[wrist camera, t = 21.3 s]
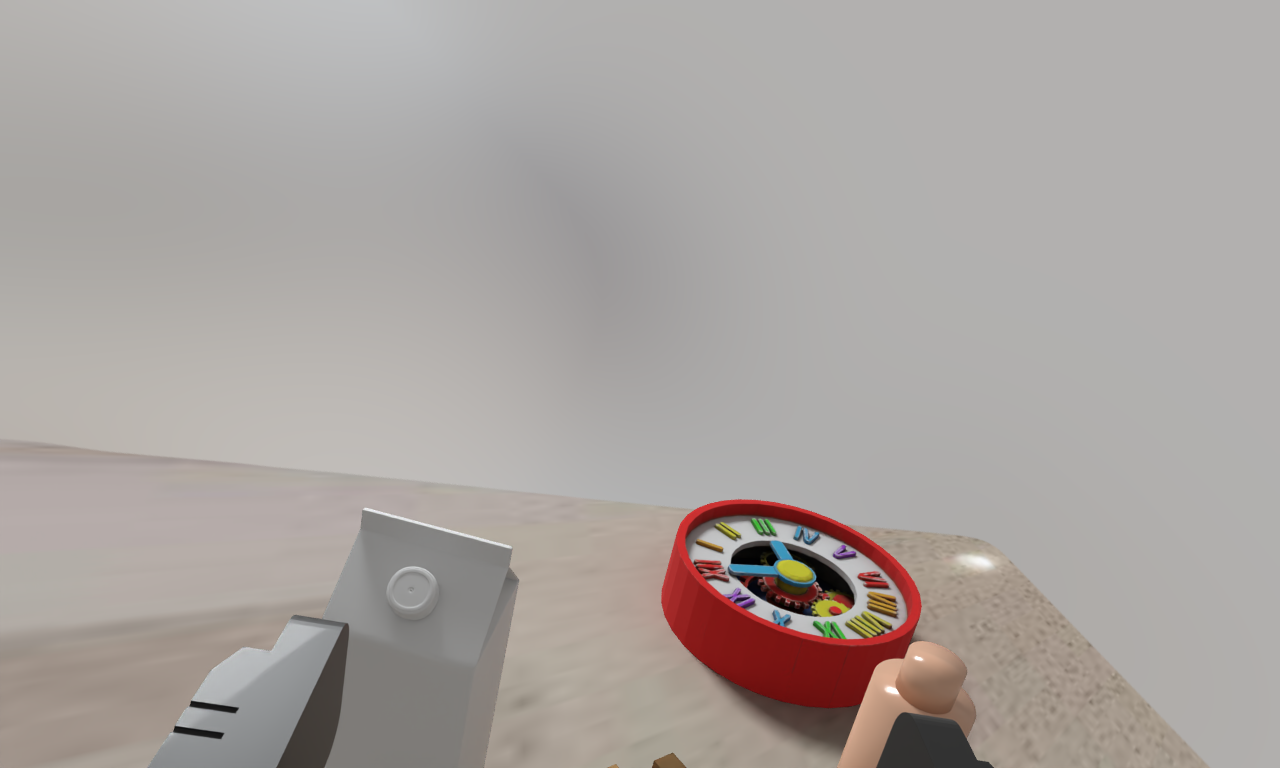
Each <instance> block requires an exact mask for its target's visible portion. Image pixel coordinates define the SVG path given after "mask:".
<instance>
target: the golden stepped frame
mask: <svg viewBox="0 0 1280 768" xmlns="http://www.w3.org/2000/svg"><path fill="white" fill-rule="evenodd" d="M608 768H619V767H618V766H617V765H616V764H615V765H613V766H610V767H608ZM652 768H686V767H685V766H684V765H683V763H682V762H681V761H680V760H679V759H678V758H677V757H676V756H675V754H674V753H671V754H668V755H666V756H664V757H662V758H659V759H657V760H655V761H654V763H653V766H652Z"/></svg>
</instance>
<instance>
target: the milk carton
mask: <svg viewBox="0 0 1280 768" xmlns="http://www.w3.org/2000/svg"><path fill="white" fill-rule="evenodd" d="M512 549H513V548H512V546H508V545H505V544H501V543H497V542H493V541H490V540H486V539H482V538H478V537H475V536H471V535H467V534H463V533H459V532H456V531H452V530H448V529H444V528H441V527H437V526H433V525H429V524H426V523H422V522H418V521H414V520H410V519H407V518H403V517H399V516H395V515H392V514H388V513H384V512H380V511H376V510H373V509H369V508H364V509H363V511H362V520H361V529H360V531H359V534H358V536H357V538H356V541H355V543H354V545H353V548H352V550H351V552H350V555H349V557H348V559H347V562H346V564H345V566H344V569H343V571H342V573H341V576H340V578H339V580H338V583H337V585H336V587H335V590H334V592H333V594H332V597H331V599H330V601H329V604H328V606H327V608H326V611H325V613H324V615H323V618H322V619H324V620H331V621H337V622H343V623H348V625H349V640H348V649H347V658H346V668H345V677H344V686H343V695H342V704H341V712H340V718H339V723H338V727H337V731H336V735H335V739H334V743H333V746H332V749H331V752H330V755H329V757H328V760H327V763H326V765H325V767H324V768H484V764H485V758H486V753H487V748H488V742H489V737H490V732H491V727H492V721H493V716H494V711H495V705H496V700H497V695H498V689H499V684H500V679H501V673H502V668H503V663H504V658H505V652H506V647H507V642H508V636H509V631H510V626H511V620H512V615H513V610H514V604H515V599H516V594H517V589H518V583H519V579H518V578H517V576H516V575H515V574H514V572H513V571H512V570H511V569H510V567H509V565H510V560H511V554H512Z"/></svg>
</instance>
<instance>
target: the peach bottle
mask: <svg viewBox="0 0 1280 768" xmlns="http://www.w3.org/2000/svg"><path fill="white" fill-rule="evenodd" d="M966 675H967V668H966V666H965V664H964V663H963V661H962V660H961V659H960V658H959V657H958V656H957V655H956V654H954V653H953V652H952V651H950V650H948V649H947V648H945V647H943V646H940V645H938V644H935V643H931V642H926V641H918V642H914V643H912V644H911V645H910V646H909V648H908V651H907V653H906V656H905V658H904V659H889V660H885V661H883V662H881V663H879V664H878V665H877V666H876V668H875V669H874V672H873V675H872V677H871V680H870V682H869V685H868V688H867V690H866V693H865V696H864V698H863V701H862V703H861V706H860V709H859V711H858V714H857V716H856V719H855V722H854V724H853V727H852V729H851V732H850V735H849V737H848V740H847V743H846V745H845V748H844V750H843V753H842V756H841V758H840V761H839V763H838V766H837V768H876V767H877V764H878V762H879V759H880V757H881V754H882V752H883V749H884V747H885V744H886V741H887V739H888V736H889V734H890V731H891V729H892V726H893V724H894V722H895V720H896V718H897V717H898V716H899V715H900V714H901V713H903V712H908V713H914V714H920V715H927V716H933V717H940V718H946V719H952V720H954V721H956V722H957V723H958V724H959V726H960V727H961V729H962V731H963V733H964V735H965V737H966V739H967V737H968V735H969V733H970V730H971V728H972V726H973V724H974V721H975V719H976V710H975V706H974V704H973V702H972V700H971V698H970V697H969V695H968V694H967V693H966V692H965V691H964V689H963V688H962V684H963V682H964V680H965V677H966Z"/></svg>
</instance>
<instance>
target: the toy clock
mask: <svg viewBox="0 0 1280 768" xmlns="http://www.w3.org/2000/svg"><path fill="white" fill-rule="evenodd" d="M661 603H662V607H663V611H664V615H665V618H666V619H667V621H668V623H669V625H670V627H671V629H672V631H673V632H674V634H675V635H676V636H677V637H678V639H679V640H680V641H681V643H682V644H683V645H684V646H685V647H686V648H687V649H688V650H689V651H690V652H691V653H692V654H693V655H694V656H695V657H696V658H697V659H699V660H700V661H701V662H703V663H704V664H705V665H707V666H708V667H709V668H711V669H712V670H713V671H715V672H716V673H718V674H720V675H721V676H723V677H725V678H727V679H728V680H730V681H732V682H733V683H735V684H737V685H739V686H742V687H744V688H746V689H748V690H751V691H753V692H755V693H757V694H760V695H763V696H766V697H769V698H773V699H776V700H779V701H782V702H787V703H792V704H797V705H802V706H807V707H821V708H837V707H850V706H854V705H858V704H861V703H862V701H863V698H864V696H865V693H866V690H867V688H868V685H869V682H870V680H871V677H872V675H873V672H874V669H875V668H876V666H877V665H878V664H879V663H881V662H883V661H885V660H889V659H904V657H905V654H906V652H907V649H908V646H909V644H910V641H911V639H912V636H913V633H914V631H915V628H916V626H917V623H918V620H919V618H920V613H921V607H922V606H921V599H920V594H919V592H918V590H917V587H916V585H915V583H914V581H913V580H912V578H911V577H910V575H909V574H908V573H907V571H906V570H905V569H904V568H903V567H902V566H901V565H900V563H899V562H898V561H897V560H896V559H895V558H894V557H892V556H891V555H890V554H889V553H888V552H886V551H885V550H884V549H883V548H882V547H880V546H879V545H877V544H876V543H874V542H873V541H871V540H870V539H869V538H867V537H866V536H864V535H862V534H860V533H859V532H857V531H855V530H853V529H851V528H850V527H848V526H846V525H843V524H841V523H839V522H837V521H835V520H832V519H830V518H828V517H825V516H822V515H819V514H817V513H814V512H812V511H808V510H805V509H801V508H798V507H794V506H790V505H785V504H780V503H776V502H769V501H760V500H741V499H740V500H726V501H719V502H715V503H710V504H707V505H705V506H702V507H699V508H697V509H696V510H694V511H693V512H691V513H690V514H688V515H687V516H686V517H685V519H684V520H683V521H682V522H681V523H680V526H679V529H678V532H677V535H676V539H675V542H674V546H673V550H672V554H671V557H670V561H669V565H668V569H667V573H666V576H665V580H664V584H663V588H662V600H661Z"/></svg>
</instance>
